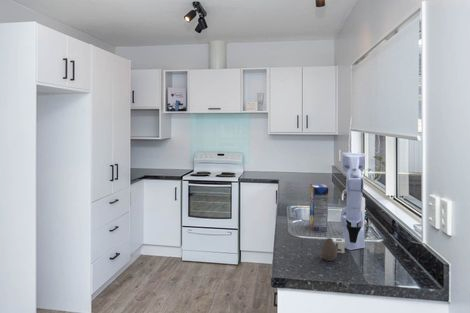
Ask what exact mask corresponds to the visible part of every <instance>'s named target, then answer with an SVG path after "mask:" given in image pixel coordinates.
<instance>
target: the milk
mask: <svg viewBox="0 0 470 313" xmlns="http://www.w3.org/2000/svg"><path fill="white" fill-rule="evenodd" d="M365 210H366V198H365V197H364V196H363V195H362V202H361V211H362V212H363V227H362V229H363V230H364V231H365V215H366V211H365Z"/></svg>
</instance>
